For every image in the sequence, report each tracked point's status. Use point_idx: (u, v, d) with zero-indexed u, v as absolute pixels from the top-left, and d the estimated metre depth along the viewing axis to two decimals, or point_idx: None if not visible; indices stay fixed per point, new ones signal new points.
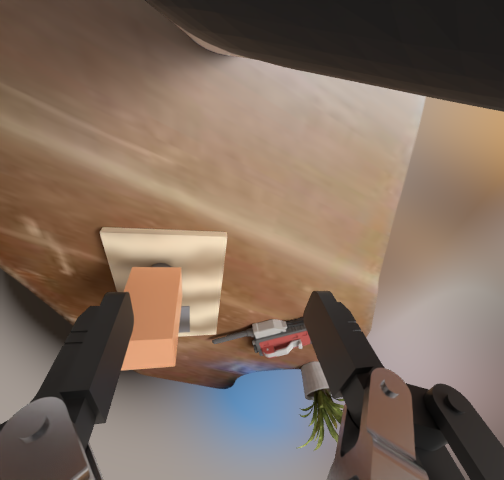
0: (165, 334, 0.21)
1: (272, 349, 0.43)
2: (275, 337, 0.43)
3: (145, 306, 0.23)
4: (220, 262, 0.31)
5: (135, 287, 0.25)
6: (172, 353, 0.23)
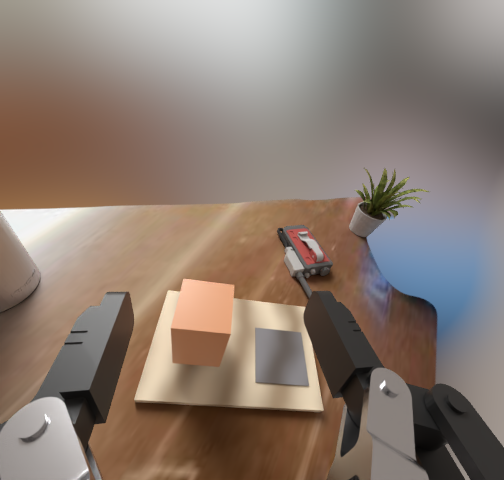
0: (182, 286, 0.25)
1: (311, 252, 0.45)
2: (298, 253, 0.46)
3: None
4: None
5: None
6: (209, 282, 0.25)
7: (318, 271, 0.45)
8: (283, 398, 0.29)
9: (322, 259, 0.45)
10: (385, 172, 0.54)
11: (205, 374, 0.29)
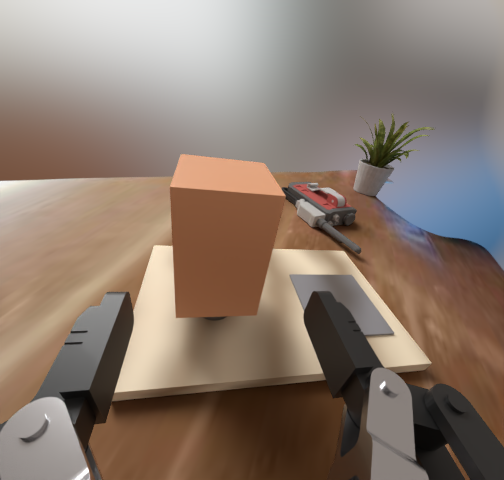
0: None
1: (329, 197, 0.37)
2: (313, 201, 0.37)
3: None
4: None
5: None
6: (224, 159, 0.15)
7: (341, 220, 0.37)
8: None
9: (344, 203, 0.37)
10: (381, 122, 0.51)
11: (233, 337, 0.17)
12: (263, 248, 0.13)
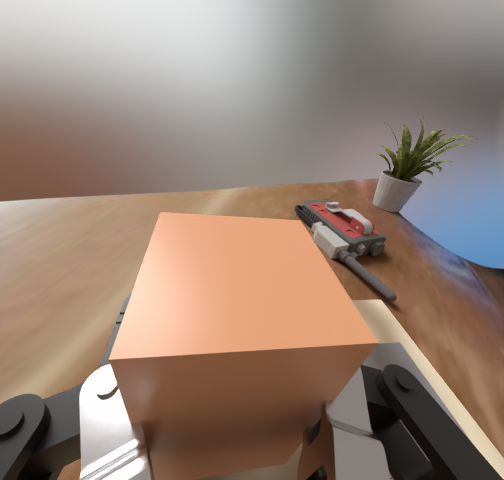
0: None
1: (352, 222, 0.31)
2: (334, 226, 0.31)
3: None
4: None
5: None
6: (234, 218, 0.09)
7: (367, 250, 0.31)
8: None
9: (371, 230, 0.30)
10: (406, 128, 0.44)
11: None
12: (313, 407, 0.07)
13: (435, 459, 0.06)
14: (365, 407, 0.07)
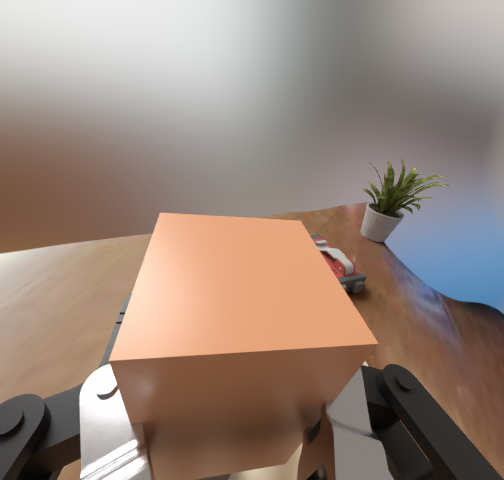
0: None
1: (336, 263, 0.34)
2: None
3: None
4: None
5: None
6: (234, 218, 0.09)
7: (349, 288, 0.34)
8: None
9: (352, 271, 0.34)
10: (390, 165, 0.48)
11: None
12: (313, 408, 0.07)
13: (435, 459, 0.06)
14: (365, 407, 0.07)
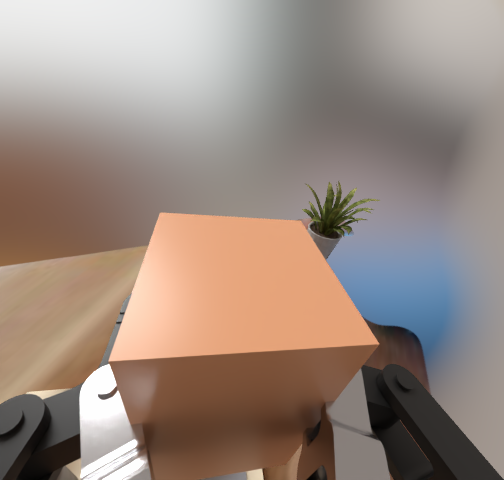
0: None
1: None
2: None
3: None
4: None
5: None
6: (235, 218, 0.09)
7: None
8: None
9: None
10: (330, 186, 0.49)
11: None
12: (313, 409, 0.07)
13: (435, 459, 0.06)
14: (365, 407, 0.07)
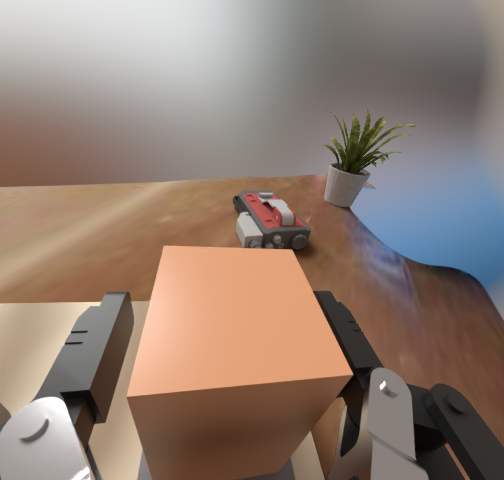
0: None
1: (274, 212, 0.29)
2: (255, 216, 0.29)
3: None
4: (27, 308, 0.16)
5: None
6: (231, 249, 0.10)
7: (288, 242, 0.28)
8: None
9: (292, 221, 0.28)
10: (355, 117, 0.42)
11: None
12: (300, 425, 0.08)
13: None
14: (411, 433, 0.06)
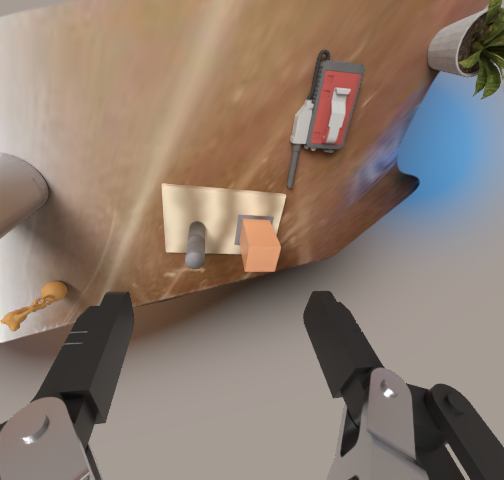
0: (248, 247, 0.38)
1: (326, 130, 0.36)
2: (313, 120, 0.36)
3: (244, 247, 0.42)
4: (188, 190, 0.40)
5: (241, 246, 0.45)
6: (265, 247, 0.38)
7: None
8: None
9: (332, 143, 0.37)
10: None
11: None
12: None
13: None
14: (411, 434, 0.06)
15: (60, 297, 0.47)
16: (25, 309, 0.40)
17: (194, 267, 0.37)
